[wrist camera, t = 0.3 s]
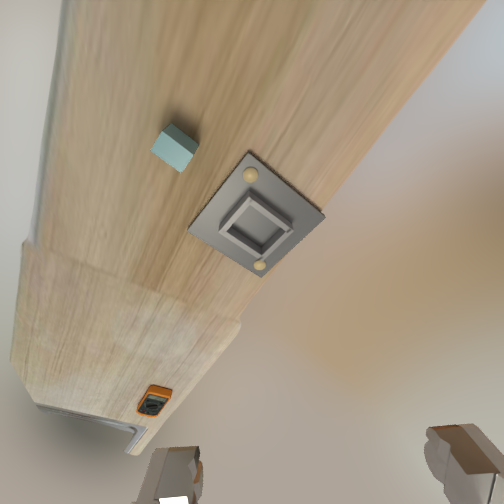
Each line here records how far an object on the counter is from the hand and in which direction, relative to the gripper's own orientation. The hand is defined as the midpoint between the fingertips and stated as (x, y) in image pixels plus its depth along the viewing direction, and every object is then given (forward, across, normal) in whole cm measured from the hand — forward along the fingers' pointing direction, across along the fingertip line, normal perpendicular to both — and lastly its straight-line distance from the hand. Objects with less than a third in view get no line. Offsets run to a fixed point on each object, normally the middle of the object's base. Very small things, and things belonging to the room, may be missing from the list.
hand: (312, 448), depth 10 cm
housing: (+54, +1, +2) cm, 54 cm away
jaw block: (+48, +14, -16) cm, 53 cm away
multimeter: (+78, +44, +70) cm, 113 cm away
